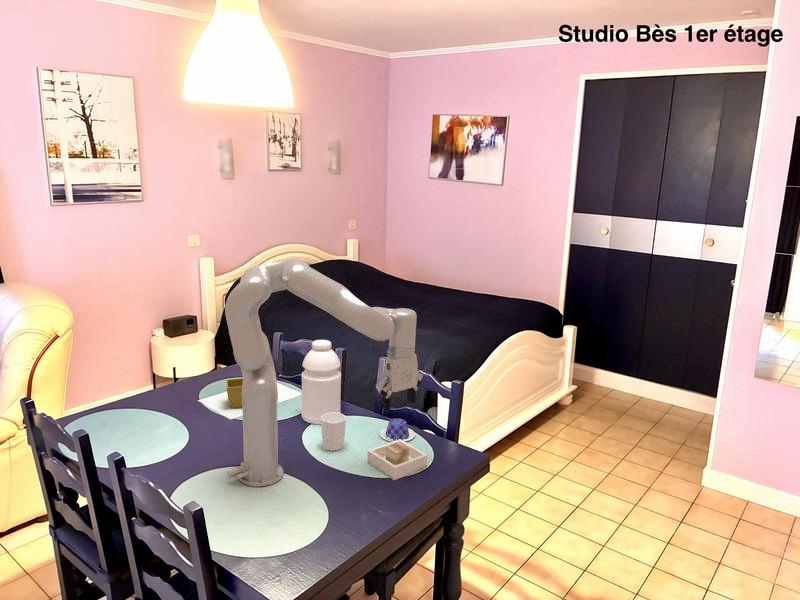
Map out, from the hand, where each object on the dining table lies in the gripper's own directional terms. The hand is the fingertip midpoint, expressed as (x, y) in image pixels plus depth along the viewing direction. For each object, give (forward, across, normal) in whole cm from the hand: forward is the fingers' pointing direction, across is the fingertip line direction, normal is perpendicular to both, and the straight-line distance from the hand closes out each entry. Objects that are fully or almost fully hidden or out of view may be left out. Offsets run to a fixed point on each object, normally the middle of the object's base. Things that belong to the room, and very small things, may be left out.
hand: (398, 405), depth 177 cm
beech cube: (+19, 0, 0) cm, 19 cm away
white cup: (+20, -8, +21) cm, 30 cm away
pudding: (+20, +14, +15) cm, 28 cm away
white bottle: (+20, 0, +42) cm, 47 cm away
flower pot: (+20, -18, +68) cm, 74 cm away
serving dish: (+20, 0, 0) cm, 20 cm away
